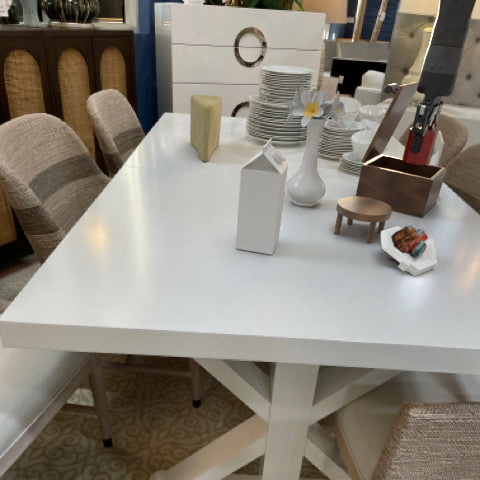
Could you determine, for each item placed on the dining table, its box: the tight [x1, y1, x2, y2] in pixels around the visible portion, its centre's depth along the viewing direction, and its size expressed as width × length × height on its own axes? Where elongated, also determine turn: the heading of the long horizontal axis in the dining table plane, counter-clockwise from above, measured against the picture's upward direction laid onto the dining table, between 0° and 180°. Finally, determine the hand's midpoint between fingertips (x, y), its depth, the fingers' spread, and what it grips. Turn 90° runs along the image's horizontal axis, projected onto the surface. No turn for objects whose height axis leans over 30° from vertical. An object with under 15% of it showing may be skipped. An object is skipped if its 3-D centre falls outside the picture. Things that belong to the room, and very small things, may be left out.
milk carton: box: [235, 138, 289, 256], centre depth 85 cm, size 7×7×19 cm
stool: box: [333, 195, 393, 245], centre depth 98 cm, size 11×11×6 cm
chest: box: [355, 153, 448, 219], centre depth 116 cm, size 17×14×9 cm
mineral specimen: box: [380, 224, 438, 277], centre depth 88 cm, size 12×12×7 cm
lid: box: [361, 81, 419, 164], centre depth 112 cm, size 18×14×5 cm
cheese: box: [189, 94, 223, 163], centre depth 141 cm, size 22×10×15 cm, turn 4°
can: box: [401, 127, 438, 165], centre depth 110 cm, size 6×6×7 cm
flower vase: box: [284, 86, 346, 208], centre depth 107 cm, size 13×18×25 cm
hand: (418, 150), depth 110 cm, fingers closed on can, 6 cm apart
